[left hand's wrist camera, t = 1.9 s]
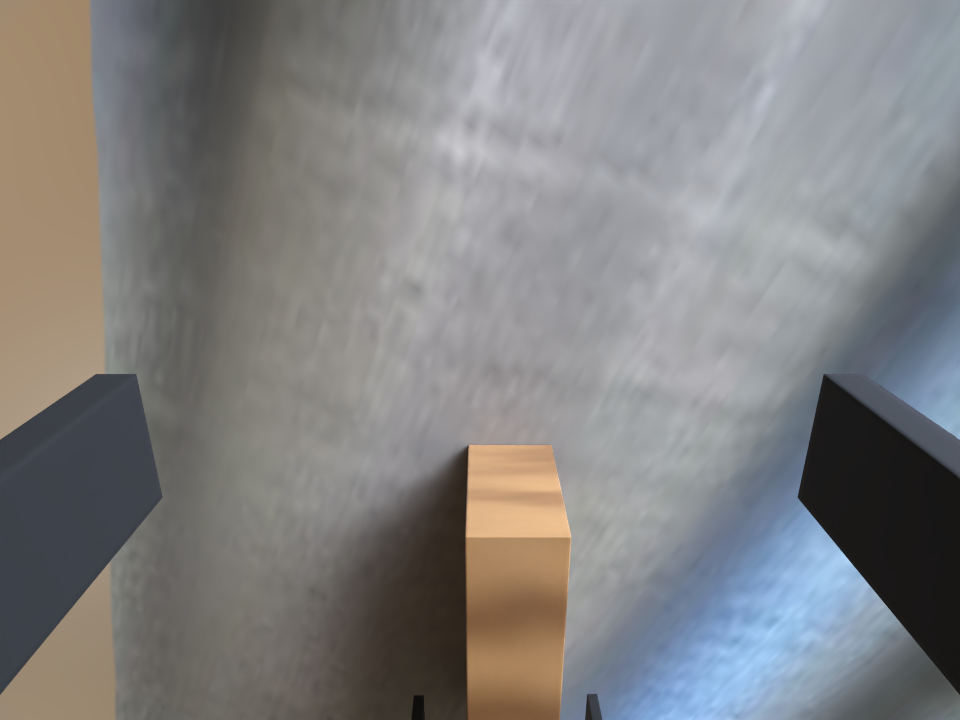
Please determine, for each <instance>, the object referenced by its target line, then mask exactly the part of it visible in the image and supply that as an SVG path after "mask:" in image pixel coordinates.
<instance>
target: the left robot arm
mask: <svg viewBox="0 0 960 720" xmlns="http://www.w3.org/2000/svg"><path fill="white" fill-rule="evenodd" d="M161 498H162V493H161V489H160V484H159V479H158V475H157V470H156V465H155V460H154V456H153V451H152V446H151V442H150V437H149V432H148V427H147V423H146V418H145V413H144V409H143V404H142V399H141V394H140V390H139V385H138V380H137V376H136V374H96V375H94V376H93V377H91V378H90V379H88V380H87V381H85V382H84V383H83V384H81V385H80V386H78V387H77V388H75V389H74V390H72V391H71V392H69V393H68V394H67V395H65V396H64V397H62V398H61V399H59V400H58V401H56V402H55V403H53V404H52V405H50V406H49V407H47V408H46V409H45V410H43V411H42V412H40V413H39V414H37V415H36V416H34V417H33V418H31V419H30V420H29V421H27V422H26V423H24V424H23V425H21V426H20V427H18V428H17V429H15V430H14V431H12V432H11V433H10V434H8V435H7V436H5V437H4V438H2V439H1V440H0V694H1V693H2V692H3V691H4V689H5V688H6V687H7V686H8V685H9V683H10V682H11V681H12V680H13V678H14V677H15V676H16V675H17V674H18V672H19V671H20V670H21V669H22V667H23V666H24V665H25V664H26V663H27V661H28V660H29V659H30V658H31V656H32V655H33V654H34V653H35V652H36V650H37V649H38V648H39V647H40V646H41V644H42V643H43V642H44V641H45V640H46V638H47V637H48V636H49V635H50V633H51V632H52V631H53V630H54V629H55V627H56V626H57V625H58V624H59V622H60V621H61V620H62V619H63V618H64V616H65V615H66V614H67V613H68V612H69V610H70V609H71V608H72V607H73V605H74V604H75V603H76V602H77V601H78V599H79V598H80V597H81V596H82V594H83V593H84V592H85V591H86V590H87V588H88V587H89V586H90V585H91V584H92V582H93V581H94V580H95V579H96V577H97V576H98V575H99V574H100V573H101V571H102V570H103V569H104V568H105V567H106V565H107V564H108V563H109V562H110V560H111V559H112V558H113V557H114V556H115V554H116V553H117V552H118V551H119V550H120V548H121V547H122V546H123V545H124V543H125V542H126V541H127V540H128V539H129V537H130V536H131V535H132V534H133V533H134V531H135V530H136V529H137V528H138V526H139V525H140V524H141V523H142V522H143V520H144V519H145V518H146V517H147V516H148V514H149V513H150V512H151V511H152V509H153V508H154V507H155V506H156V505H157V503H158V502H159V501H160V500H161ZM798 498H799V500H800V501H801V502H802V503H803V505H804V506H805V507H806V508H807V509H808V511H809V512H810V513H811V514H812V516H813V517H814V518H815V519H816V520H817V522H818V523H819V524H820V525H821V526H822V528H823V529H824V530H825V531H826V533H827V534H828V535H829V536H830V537H831V539H832V540H833V541H834V542H835V543H836V545H837V546H838V547H839V548H840V550H841V551H842V552H843V553H844V554H845V556H846V557H847V558H848V559H849V560H850V562H851V563H852V564H853V565H854V567H855V568H856V569H857V570H858V571H859V573H860V574H861V575H862V576H863V578H864V579H865V580H866V581H867V582H868V584H869V585H870V586H871V587H872V588H873V590H874V591H875V592H876V593H877V595H878V596H879V597H880V598H881V599H882V601H883V602H884V603H885V604H886V605H887V607H888V608H889V609H890V610H891V612H892V613H893V614H894V615H895V616H896V618H897V619H898V620H899V621H900V623H901V624H902V625H903V626H904V627H905V629H906V630H907V631H908V632H909V633H910V635H911V636H912V637H913V638H914V640H915V641H916V642H917V643H918V644H919V646H920V647H921V648H922V649H923V650H924V652H925V653H926V654H927V655H928V657H929V658H930V659H931V660H932V661H933V663H934V664H935V665H936V666H937V667H938V669H939V670H940V671H941V672H942V674H943V675H944V676H945V677H946V678H947V680H948V681H949V682H950V683H951V685H952V686H953V687H954V688H955V689H956V691H957V692H958V693H959V694H960V440H959V439H958V438H956V437H955V436H953V435H952V434H950V433H949V432H948V431H946V430H945V429H943V428H942V427H940V426H939V425H937V424H936V423H934V422H933V421H931V420H930V419H929V418H927V417H926V416H924V415H923V414H921V413H920V412H918V411H917V410H915V409H914V408H913V407H911V406H910V405H908V404H907V403H905V402H904V401H902V400H901V399H899V398H898V397H896V396H895V395H894V394H892V393H891V392H889V391H888V390H886V389H885V388H883V387H882V386H880V385H879V384H877V383H876V382H875V381H873V380H872V379H870V378H869V377H867V376H866V375H864V374H824V376H823V380H822V385H821V390H820V394H819V399H818V404H817V409H816V413H815V418H814V423H813V427H812V432H811V437H810V442H809V446H808V451H807V456H806V460H805V465H804V470H803V475H802V479H801V484H800V489H799V493H798Z"/></svg>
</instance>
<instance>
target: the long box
mask: <svg viewBox="0 0 960 720" xmlns="http://www.w3.org/2000/svg"><path fill="white" fill-rule="evenodd" d="M570 548H571V534H570V529H569V525H568V520H567V515H566V511H565V506H564V501H563V497H562V492H561V487H560V483H559V478H558V473H557V469H556V464H555V459H554V455H553V450H552V446H551V445H469V446H468V473H467V502H466V532H465V556H466V657H467V720H560V707H561V691H562V675H563V659H564V643H565V627H566V611H567V595H568V580H569V564H570Z"/></svg>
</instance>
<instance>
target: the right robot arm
mask: <svg viewBox="0 0 960 720" xmlns="http://www.w3.org/2000/svg"><path fill="white" fill-rule="evenodd" d="M412 720H425V715H424V695H421V696H414V701H413V711H412ZM585 720H602V716H601V711H600V707H599V702H598V697H597V694H587V704H586V716H585Z"/></svg>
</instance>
